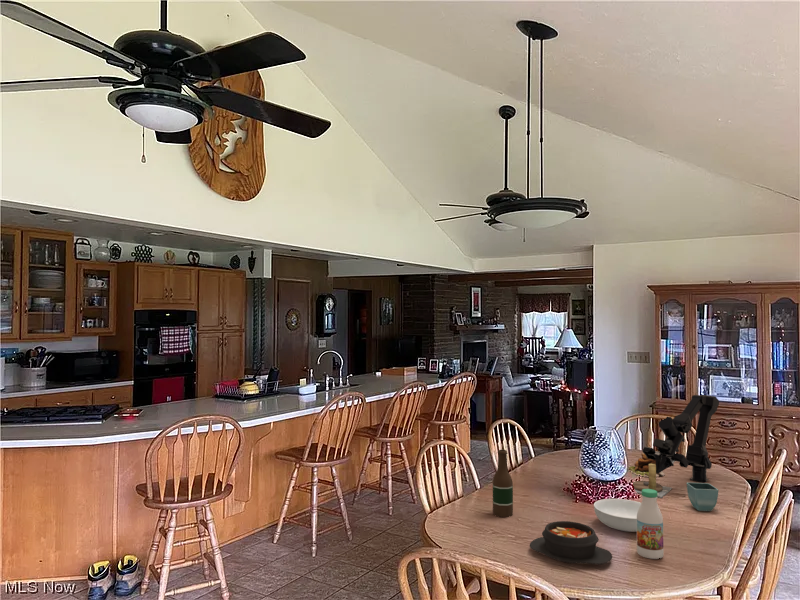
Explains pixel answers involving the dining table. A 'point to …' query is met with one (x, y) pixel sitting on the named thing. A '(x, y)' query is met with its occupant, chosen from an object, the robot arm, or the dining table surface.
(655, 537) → the milk bottle
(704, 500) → the flower pot
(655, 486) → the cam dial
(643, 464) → the bear figurine
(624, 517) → the serving bowl
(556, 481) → the dining table surface
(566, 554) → the casserole
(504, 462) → the beer bottle
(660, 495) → the stand
